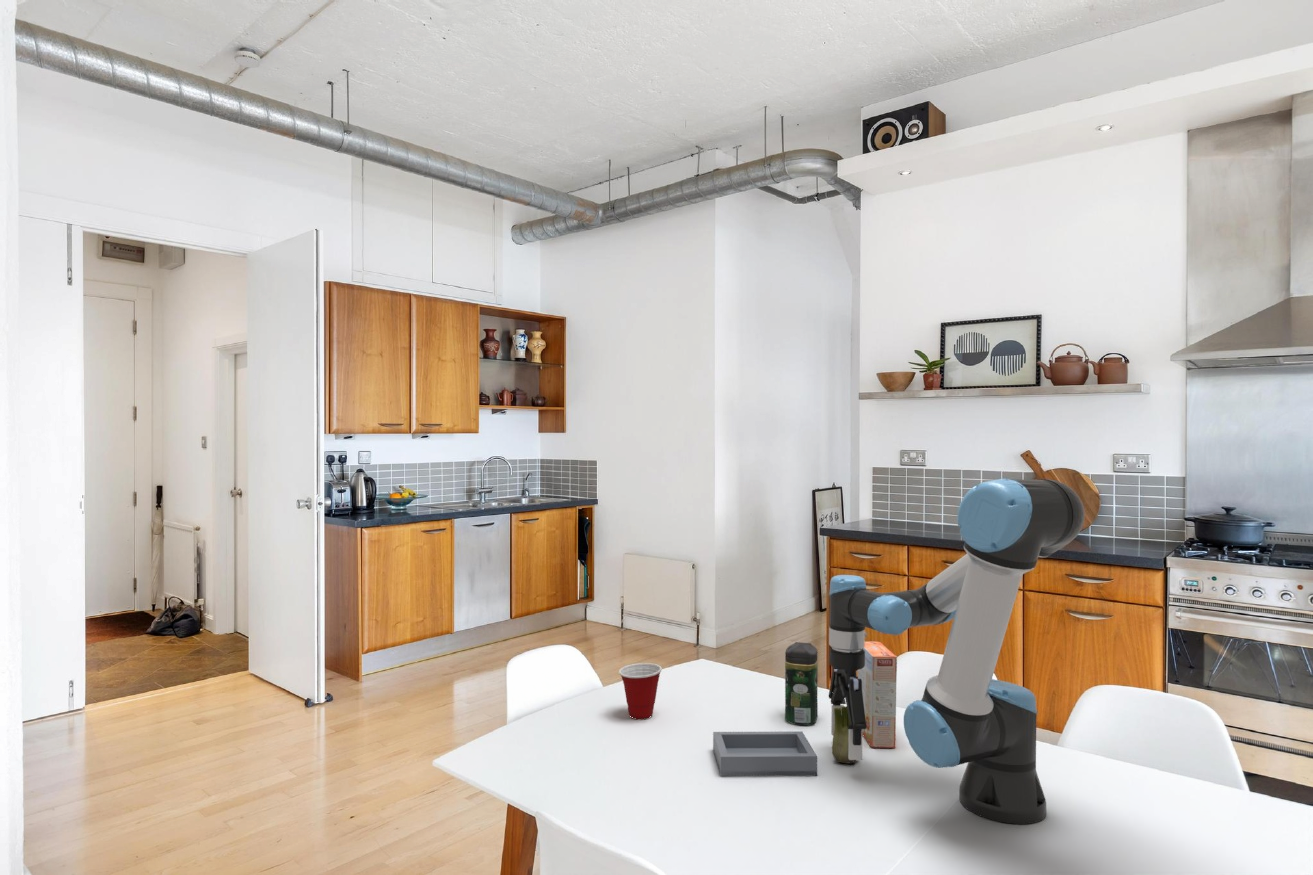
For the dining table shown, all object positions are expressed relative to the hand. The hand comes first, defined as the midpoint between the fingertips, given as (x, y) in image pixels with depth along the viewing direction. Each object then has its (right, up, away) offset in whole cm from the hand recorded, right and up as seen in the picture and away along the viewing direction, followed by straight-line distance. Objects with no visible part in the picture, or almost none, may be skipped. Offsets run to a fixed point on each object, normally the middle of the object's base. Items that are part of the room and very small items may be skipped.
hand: (846, 746), depth 170 cm
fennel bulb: (0, -4, 0) cm, 4 cm away
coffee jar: (-5, -4, +26) cm, 27 cm away
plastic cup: (-45, -3, +27) cm, 53 cm away
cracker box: (+10, -4, +14) cm, 18 cm away
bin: (-18, -3, -1) cm, 18 cm away
